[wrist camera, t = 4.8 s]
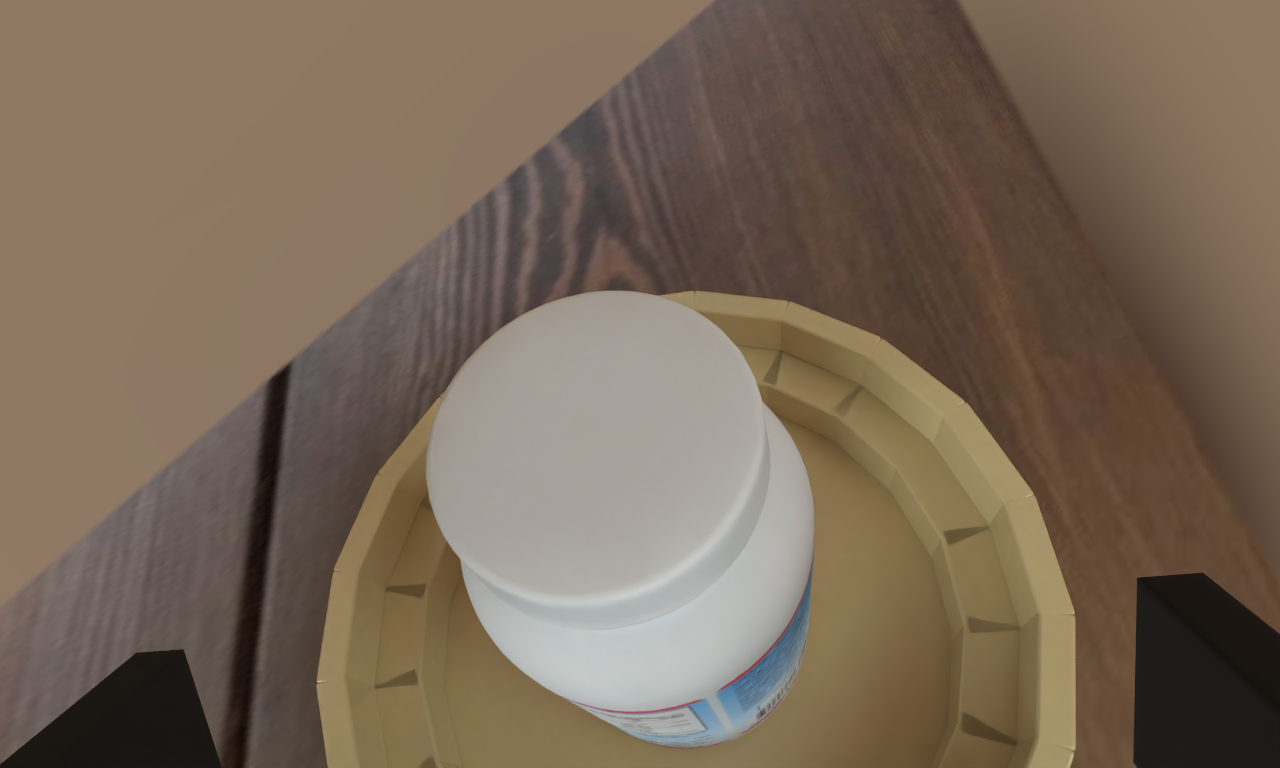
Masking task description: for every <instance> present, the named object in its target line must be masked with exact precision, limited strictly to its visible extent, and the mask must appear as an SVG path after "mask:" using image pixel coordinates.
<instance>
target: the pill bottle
mask: <svg viewBox="0 0 1280 768" xmlns="http://www.w3.org/2000/svg"><path fill="white" fill-rule="evenodd" d="M426 481H427V487H428V493H429V499H430V503H431V506H432V509H433V512H434V515H435V518H436V520H437V522H438V525H439V527H440V529H441V532H442V534H443V536H444V537H445V539H446V541H447V542H448V544H449V545H450V547H451V548H452V550H453V551H454V552H455V553H456V554H457V556H458V557H459V558H460V562H461V569H462V573H463V577H464V582H465V585H466V588H467V591H468V594H469V597H470V600H471V602H472V605H473V607H474V610H475V612H476V614H477V616H478V618H479V620H480V622H481V623H482V625H483V627H484V628H485V630H486V632H487V633H488V634H489V636H490V637H491V639H492V640H493V641H494V643H495V644H496V645H497V647H498V648H499V649H500V650H501V652H502V653H503V654H504V655H505V656H506V657H507V658H508V659H509V660H510V661H511V662H512V663H513V664H514V665H516V666H517V667H518V668H519V669H520V670H521V671H522V672H524V673H525V674H527V675H528V676H529V677H530V678H532V679H533V680H535V681H536V682H537V683H539V684H540V685H542V686H543V687H545V688H547V689H548V690H550V691H552V692H553V693H555V694H557V695H559V696H561V697H563V698H564V699H566V700H568V701H570V702H572V703H574V704H575V705H577V706H579V707H581V708H583V709H584V710H586V711H588V712H590V713H592V714H593V715H595V716H597V717H599V718H600V719H602V720H604V721H607V722H608V723H610V724H612V725H614V726H615V727H617V728H619V729H620V730H622V731H624V732H626V733H627V734H629V735H631V736H633V737H635V738H638V739H640V740H642V741H645V742H648V743H650V744H654V745H657V746H662V747H667V748H673V749H701V748H708V747H713V746H717V745H721V744H724V743H727V742H729V741H732V740H735V739H737V738H739V737H741V736H743V735H745V734H746V733H748V732H750V731H751V730H753V729H754V728H756V727H757V726H758V725H760V724H761V723H762V722H763V721H765V720H766V719H767V718H768V717H769V716H770V715H771V714H772V713H773V712H774V711H775V710H776V709H777V708H778V706H779V705H780V704H781V702H782V701H783V700H784V698H785V697H786V696H787V694H788V692H789V691H790V689H791V687H792V686H793V684H794V681H795V679H796V677H797V675H798V673H799V670H800V667H801V664H802V661H803V657H804V653H805V649H806V645H807V638H808V626H809V612H810V601H811V583H812V572H813V559H814V540H815V524H814V505H813V496H812V491H811V487H810V483H809V478H808V475H807V471H806V468H805V465H804V463H803V460H802V458H801V455H800V453H799V451H798V449H797V447H796V445H795V443H794V441H793V439H792V437H791V436H790V434H789V433H788V431H787V430H786V428H785V427H784V425H783V424H782V423H781V422H780V420H779V419H778V418H777V417H776V415H775V414H774V413H773V412H772V411H771V410H770V409H769V408H768V407H767V406H766V405H765V404H764V403H763V402H762V398H761V395H760V392H759V389H758V386H757V383H756V380H755V377H754V375H753V373H752V371H751V369H750V367H749V365H748V364H747V362H746V360H745V358H744V357H743V355H742V353H741V351H740V350H739V349H738V348H737V347H736V345H735V344H734V343H733V342H732V341H731V340H730V339H729V337H728V336H727V335H726V334H725V333H724V332H723V331H722V330H721V329H720V328H719V327H717V326H716V325H715V324H714V323H712V322H711V321H710V320H709V319H707V318H706V317H704V316H703V315H701V314H699V313H698V312H696V311H695V310H693V309H691V308H689V307H686V306H684V305H682V304H680V303H678V302H675V301H672V300H669V299H666V298H663V297H660V296H656V295H651V294H646V293H640V292H633V291H596V292H588V293H583V294H578V295H574V296H570V297H565V298H562V299H559V300H556V301H552V302H549V303H546V304H544V305H542V306H540V307H537V308H535V309H533V310H531V311H529V312H526V313H525V314H523V315H521V316H520V317H518V318H516V319H515V320H513V321H511V322H509V323H508V324H507V325H505V326H504V327H502V328H501V329H499V330H498V331H497V332H496V333H494V334H493V335H492V336H491V337H490V338H489V339H487V340H486V341H485V342H484V343H483V344H482V345H481V346H480V347H479V348H478V349H477V350H476V351H475V352H474V353H473V354H472V355H471V356H470V357H469V358H468V359H467V361H466V362H465V363H464V364H463V365H462V367H461V368H460V369H459V371H458V372H457V374H456V375H455V377H454V378H453V380H452V381H451V383H450V384H449V386H448V387H447V389H446V391H445V393H444V394H443V396H442V400H441V402H440V404H439V406H438V409H437V411H436V414H435V417H434V419H433V422H432V425H431V430H430V435H429V440H428V446H427V453H426Z"/></svg>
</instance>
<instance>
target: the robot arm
mask: <svg viewBox="0 0 1280 768" xmlns="http://www.w3.org/2000/svg"><path fill="white" fill-rule="evenodd" d="M1133 762H1134V764H1135V765H1136V766H1137V768H1280V634H1279V633H1277V632H1276V631H1275V630H1274V629H1272V628H1271V627H1270V626H1269V625H1267V624H1266V623H1265V622H1264V621H1262V620H1261V619H1260V618H1259V617H1257V616H1256V615H1255V614H1254V613H1252V612H1251V611H1250V610H1249V609H1247V608H1246V607H1245V606H1244V605H1242V604H1241V603H1240V602H1239V601H1238V600H1236V599H1235V598H1234V597H1233V596H1231V595H1230V594H1229V593H1228V592H1226V591H1225V590H1224V589H1223V588H1221V587H1220V586H1219V585H1218V584H1216V583H1215V582H1214V581H1213V580H1211V579H1210V578H1209V577H1208V576H1206V575H1205V574H1204V573H1194V574H1181V575H1168V576H1154V577H1141V578H1137V617H1136V665H1135V713H1134V761H1133ZM0 768H222V767H221V764H220V761H219V758H218V755H217V752H216V749H215V745H214V742H213V739H212V736H211V733H210V730H209V727H208V724H207V721H206V718H205V714H204V711H203V708H202V705H201V702H200V699H199V696H198V693H197V690H196V687H195V683H194V680H193V677H192V674H191V671H190V668H189V665H188V662H187V659H186V656H185V653H184V649H182V650H169V651H155V652H142V653H136V654H134V655H133V656H132V657H131V658H129V659H128V660H127V661H126V662H125V663H123V664H122V665H121V666H120V667H118V668H117V669H116V670H115V671H114V672H112V673H111V674H110V675H109V676H108V677H106V678H105V679H104V680H103V681H101V682H100V683H99V684H98V685H97V686H95V687H94V688H93V689H92V690H90V691H89V692H88V693H87V694H86V695H84V696H83V697H82V698H81V699H79V700H78V701H77V702H76V703H75V704H73V705H72V706H71V707H70V708H68V709H67V710H66V711H65V712H64V713H62V714H61V715H60V716H59V717H58V718H56V719H55V720H54V721H53V722H51V723H50V724H49V725H48V726H47V727H45V728H44V729H43V730H42V731H40V732H39V733H38V734H37V735H36V736H34V737H33V738H32V739H31V740H29V741H28V742H27V743H26V744H25V745H23V746H22V747H21V748H20V749H19V750H17V751H16V752H15V753H14V754H12V755H11V756H10V757H9V758H8V759H6V760H5V761H4V762H3V763H1V764H0Z"/></svg>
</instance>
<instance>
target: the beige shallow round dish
mask: <svg viewBox="0 0 1280 768" xmlns="http://www.w3.org/2000/svg"><path fill="white" fill-rule="evenodd" d="M657 296H660V297H663V298H666V299H669V300H672V301H675V302H678V303H680V304H682V305H684V306H686V307H689V308H691V309H693V310H695V311H696V312H698V313H699V314H701V315H703V316H704V317H706V318H707V319H709V320H710V321H711V322H712V323H714V324H715V325H716V326H717V327H719V328H720V329H721V330H722V331H723V332H724V333H725V334H726V335H727V336H728V337H729V339H730V340H731V341H732V342H733V343H734V344H735V345H736V347H737V348H738V349H739V350H740V351H741V353H742V355H743V357H744V358H745V360H746V362H747V364H748V365H749V367H750V369H751V371H752V373H753V375H754V377H755V380H756V383H757V386H758V389H759V392H760V395H761V398H762V402H763V403H764V404H765V405H766V406H767V407H768V408H769V409H770V410H771V411H772V412H773V413H774V414H775V415H776V417H777V418H778V419H779V420H780V422H781V423H782V424H783V425H784V427H785V428H786V430H787V431H788V433H789V434H790V436H791V437H792V439H793V441H794V443H795V445H796V447H797V449H798V451H799V453H800V455H801V458H802V460H803V463H804V465H805V468H806V471H807V475H808V478H809V483H810V487H811V491H812V496H813V505H814V524H815V540H814V559H813V572H812V583H811V601H810V612H809V626H808V638H807V645H806V649H805V653H804V657H803V661H802V664H801V667H800V670H799V673H798V675H797V677H796V679H795V681H794V684H793V686H792V687H791V689H790V691H789V692H788V694H787V696H786V697H785V698H784V700H783V701H782V702H781V704H780V705H779V706H778V708H777V709H776V710H775V711H774V712H773V713H772V714H771V715H770V716H769V717H768V718H767V719H766V720H765V721H763V722H762V723H761V724H760V725H758V726H757V727H756V728H754V729H753V730H751V731H750V732H748V733H746V734H745V735H743V736H741V737H739V738H737V739H735V740H732V741H729V742H727V743H724V744H721V745H717V746H713V747H708V748H701V749H673V748H667V747H662V746H657V745H654V744H650V743H648V742H645V741H642V740H640V739H638V738H635V737H633V736H631V735H629V734H627V733H626V732H624V731H622V730H620V729H619V728H617V727H615V726H614V725H612V724H610V723H608V722H607V721H604V720H602V719H600V718H599V717H597V716H595V715H593V714H592V713H590V712H588V711H586V710H584V709H583V708H581V707H579V706H577V705H575V704H574V703H572V702H570V701H568V700H566V699H564V698H563V697H561V696H559V695H557V694H555V693H553V692H552V691H550V690H548V689H547V688H545V687H543V686H542V685H540V684H539V683H537V682H536V681H535V680H533V679H532V678H530V677H529V676H528V675H527V674H525V673H524V672H522V671H521V670H520V669H519V668H518V667H517V666H516V665H514V664H513V663H512V662H511V661H510V660H509V659H508V658H507V657H506V656H505V655H504V654H503V653H502V652H501V650H500V649H499V648H498V647H497V645H496V644H495V643H494V641H493V640H492V639H491V637H490V636H489V634H488V633H487V632H486V630H485V628H484V627H483V625H482V623H481V622H480V620H479V618H478V616H477V614H476V612H475V610H474V607H473V605H472V602H471V600H470V597H469V594H468V591H467V588H466V585H465V582H464V577H463V573H462V569H461V562H460V558H459V557H458V556H457V554H456V553H455V552H454V551H453V550H452V548H451V547H450V545H449V544H448V542H447V541H446V539H445V537H444V536H443V534H442V532H441V529H440V527H439V525H438V522H437V520H436V518H435V515H434V512H433V509H432V506H431V503H430V499H429V493H428V487H427V481H426V453H427V446H428V440H429V435H430V430H431V425H432V422H433V419H434V417H435V414H436V411H437V409H438V406H439V404H440V402H441V400H442V396H443V394H444V393H445V392H443V393H442V394H441V395H440V397H439V398H437V400H436V401H435V402H434V403H433V405H432V406H431V407H430V408H429V410H428V411H427V412H426V413H425V414H424V416H423V417H422V418H421V419H420V421H419V422H418V423H417V424H416V426H415V427H414V428H413V429H412V431H411V432H410V433H409V434H408V436H407V437H406V438H405V439H404V440H403V442H402V443H401V444H400V445H399V447H398V448H397V449H396V450H395V452H394V453H393V454H392V455H391V457H390V458H389V459H388V460H387V462H386V463H385V464H384V465H383V466H382V468H381V469H380V470H379V471H378V475H376V476H375V478H374V480H373V482H372V485H371V487H370V489H369V491H368V493H367V496H366V498H365V500H364V502H363V505H362V507H361V509H360V511H359V513H358V516H357V518H356V520H355V522H354V525H353V527H352V529H351V531H350V534H349V536H348V538H347V540H346V542H345V545H344V547H343V549H342V551H341V554H340V556H339V558H338V560H337V562H336V565H335V567H334V572H333V575H332V581H331V588H330V594H329V601H328V607H327V614H326V620H325V627H324V634H323V640H322V647H321V653H320V660H319V666H318V673H317V679H316V680H317V683H318V684H317V686H316V687H317V695H318V702H319V709H320V716H321V723H322V730H323V738H324V745H325V752H326V759H327V766H328V768H1070V767H1071V765H1072V762H1073V759H1074V752H1073V751H1075V749H1076V619H1075V616H1074V614H1075V611H1074V608H1073V605H1072V602H1071V599H1070V596H1069V593H1068V591H1067V588H1066V585H1065V582H1064V579H1063V576H1062V573H1061V570H1060V567H1059V564H1058V561H1057V558H1056V555H1055V552H1054V549H1053V547H1052V544H1051V541H1050V538H1049V535H1048V532H1047V529H1046V526H1045V523H1044V520H1043V517H1042V514H1041V511H1040V508H1039V505H1038V503H1037V500H1036V497H1035V496H1033V495H1034V493H1033V492H1032V490H1031V489H1030V488H1029V486H1028V485H1027V483H1026V482H1025V481H1024V479H1023V478H1022V477H1021V475H1020V474H1019V473H1018V471H1017V470H1016V468H1015V467H1014V466H1013V464H1012V463H1011V462H1010V460H1009V459H1008V458H1007V456H1006V455H1005V453H1004V452H1003V451H1002V449H1001V448H1000V447H999V445H998V444H997V443H996V441H995V440H994V438H993V437H992V436H991V434H990V433H989V432H988V430H987V429H986V428H985V426H984V425H983V423H982V422H981V421H980V419H979V418H978V417H977V415H976V414H975V413H974V411H973V410H972V408H971V407H970V406H969V404H968V403H965V401H964V400H963V399H962V398H960V397H959V396H958V395H956V394H955V393H954V392H952V391H951V390H950V389H949V388H947V387H946V386H945V385H943V384H942V383H941V382H939V381H938V380H937V379H935V378H934V377H933V376H931V375H930V374H929V373H928V372H926V371H925V370H924V369H922V368H921V367H920V366H918V365H917V364H916V363H914V362H913V361H912V360H910V359H909V358H908V357H907V356H905V355H904V354H903V353H901V352H900V351H899V350H897V349H896V348H895V347H893V346H892V345H891V344H889V343H888V342H887V341H886V340H884V339H881V338H880V337H879V336H877V335H874V334H872V333H869V332H867V331H864V330H862V329H859V328H857V327H854V326H852V325H849V324H847V323H844V322H842V321H839V320H837V319H834V318H831V317H829V316H826V315H824V314H821V313H819V312H816V311H814V310H811V309H809V308H806V307H804V306H801V305H799V304H796V303H794V302H789V303H788V301H786V300H777V299H768V298H759V297H751V296H742V295H733V294H724V293H716V292H707V291H698V290H697V291H695V292H694V291H685V292H678V293H671V294H664V295H657Z"/></svg>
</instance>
